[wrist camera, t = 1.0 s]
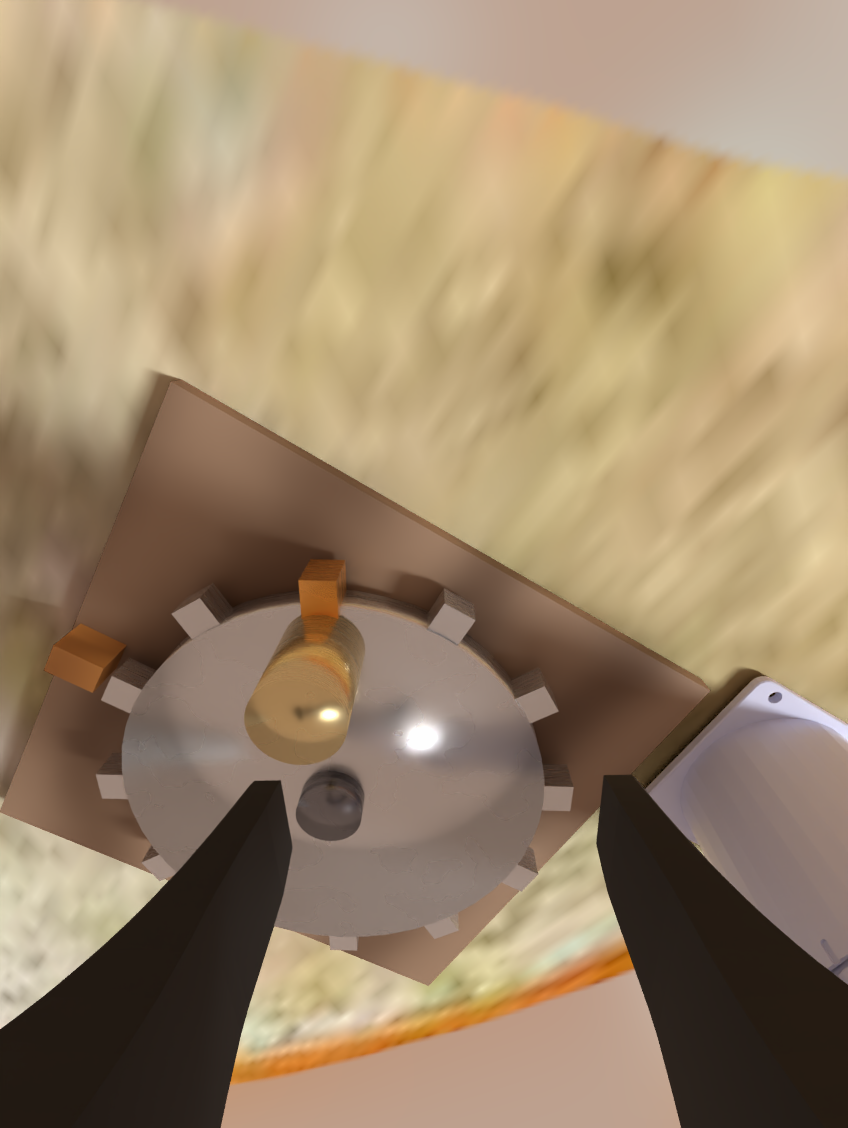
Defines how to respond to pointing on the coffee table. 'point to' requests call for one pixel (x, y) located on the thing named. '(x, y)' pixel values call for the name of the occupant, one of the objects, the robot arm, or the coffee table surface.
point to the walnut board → (274, 565)
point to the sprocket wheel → (342, 751)
